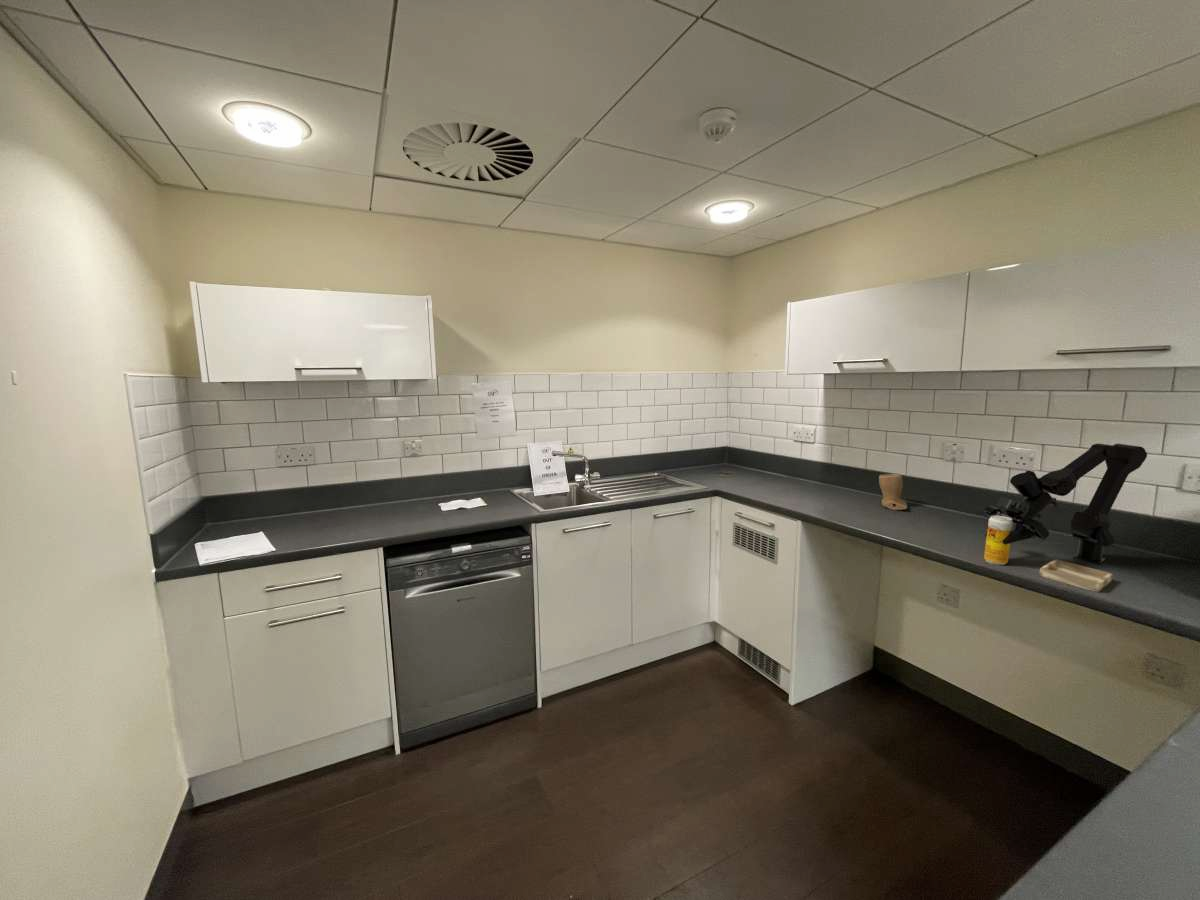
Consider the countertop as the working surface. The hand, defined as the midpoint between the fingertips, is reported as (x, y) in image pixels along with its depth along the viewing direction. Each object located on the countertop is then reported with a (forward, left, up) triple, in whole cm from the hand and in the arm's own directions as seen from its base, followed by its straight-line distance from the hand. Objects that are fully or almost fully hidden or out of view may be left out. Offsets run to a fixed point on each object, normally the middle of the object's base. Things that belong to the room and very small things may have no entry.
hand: (994, 539), depth 156 cm
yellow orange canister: (-1, +1, -8) cm, 8 cm away
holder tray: (-6, +19, -8) cm, 21 cm away
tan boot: (-39, -52, -8) cm, 65 cm away
